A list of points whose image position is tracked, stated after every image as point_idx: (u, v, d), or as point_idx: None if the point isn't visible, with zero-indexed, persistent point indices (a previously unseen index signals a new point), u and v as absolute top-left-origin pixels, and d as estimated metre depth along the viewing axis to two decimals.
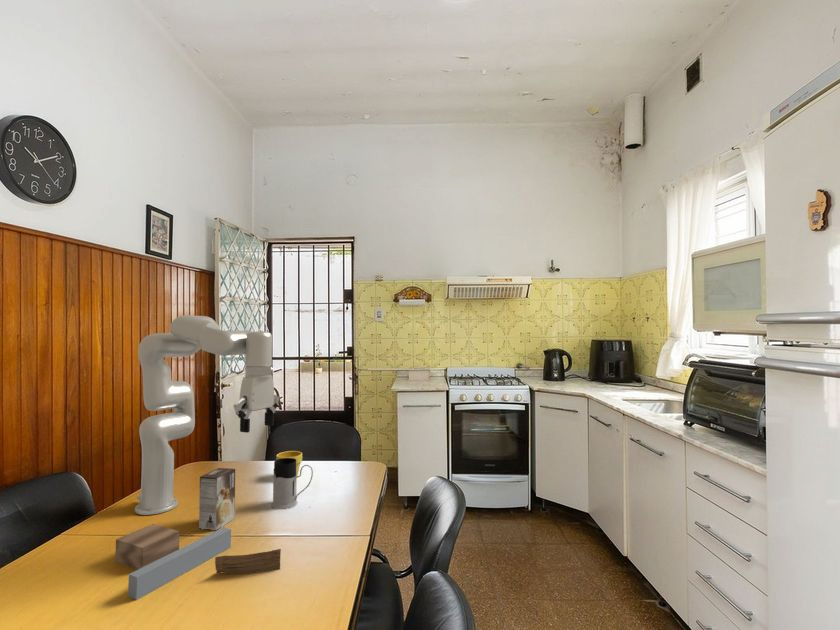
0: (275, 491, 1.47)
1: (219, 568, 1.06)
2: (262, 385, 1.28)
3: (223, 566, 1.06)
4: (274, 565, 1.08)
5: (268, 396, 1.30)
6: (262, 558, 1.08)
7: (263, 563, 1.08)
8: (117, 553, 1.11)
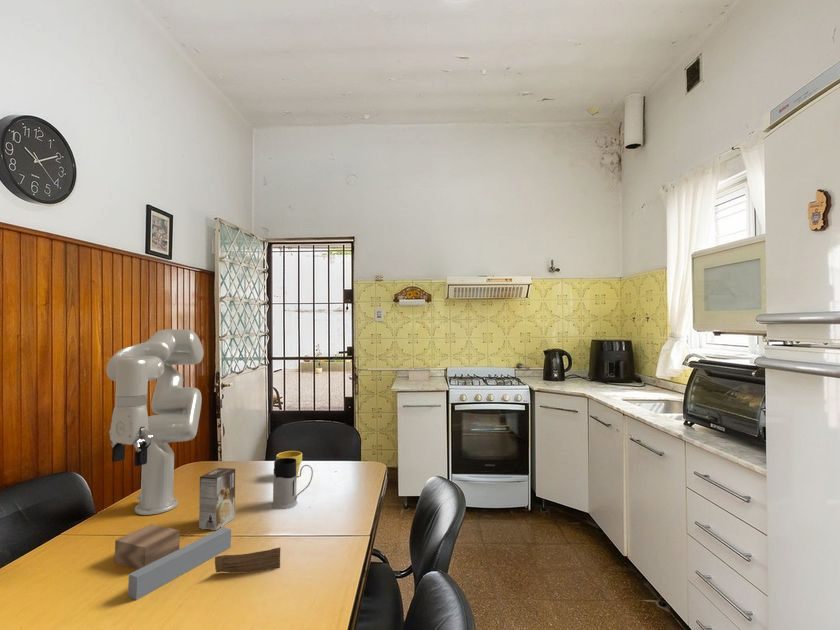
0: (275, 491, 1.47)
1: (219, 567, 1.06)
2: None
3: (223, 566, 1.06)
4: (274, 563, 1.09)
5: None
6: (262, 557, 1.08)
7: (263, 561, 1.08)
8: (117, 554, 1.11)
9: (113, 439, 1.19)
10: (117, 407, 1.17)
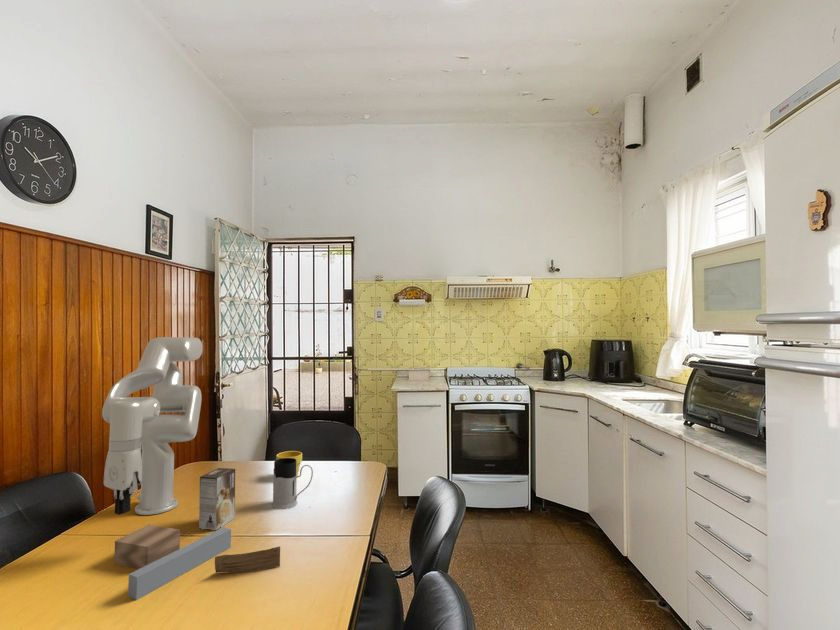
0: (275, 491, 1.47)
1: (218, 568, 1.06)
2: None
3: (223, 566, 1.06)
4: (274, 562, 1.09)
5: None
6: (262, 556, 1.08)
7: (263, 561, 1.09)
8: (116, 555, 1.11)
9: (106, 484, 1.18)
10: (111, 452, 1.16)
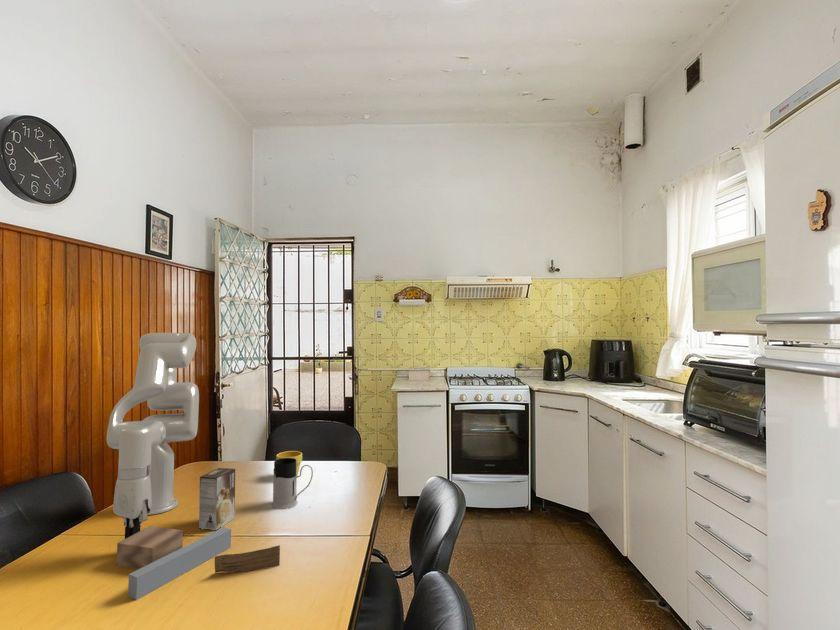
0: (275, 491, 1.47)
1: (218, 567, 1.06)
2: None
3: (222, 565, 1.06)
4: (274, 561, 1.10)
5: None
6: (262, 555, 1.09)
7: (263, 560, 1.09)
8: (119, 557, 1.10)
9: (116, 512, 1.16)
10: (120, 480, 1.14)
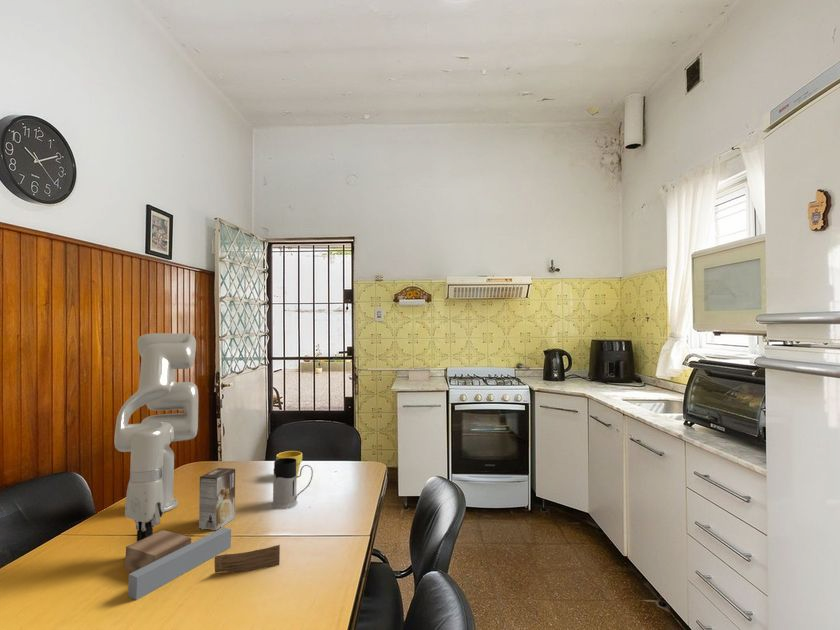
0: (275, 491, 1.47)
1: (218, 567, 1.06)
2: None
3: (222, 565, 1.06)
4: (273, 561, 1.10)
5: None
6: (262, 555, 1.09)
7: (263, 559, 1.09)
8: (127, 561, 1.08)
9: (128, 515, 1.14)
10: (132, 483, 1.12)
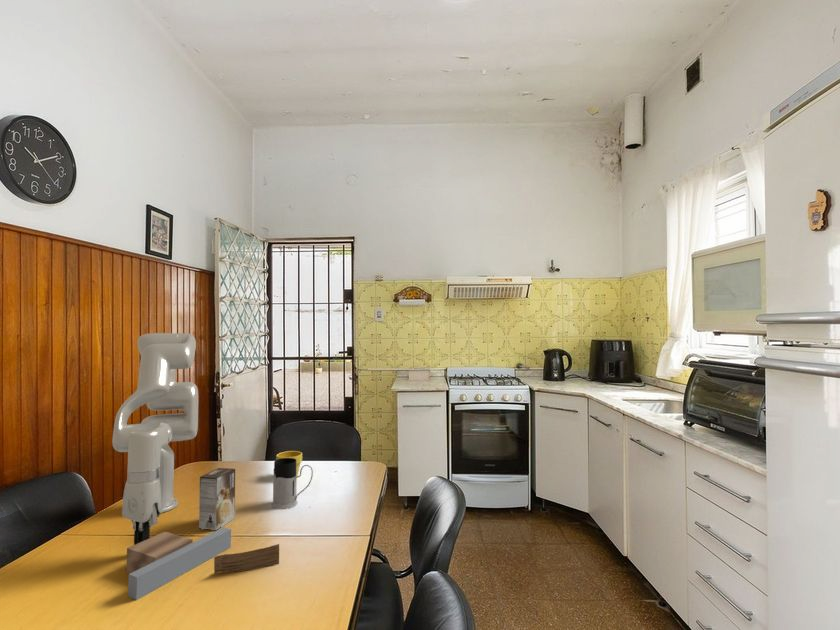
0: (275, 491, 1.47)
1: (218, 567, 1.06)
2: None
3: (222, 565, 1.06)
4: (273, 560, 1.10)
5: None
6: (261, 554, 1.09)
7: (263, 559, 1.10)
8: (128, 562, 1.07)
9: (125, 516, 1.14)
10: (129, 483, 1.13)
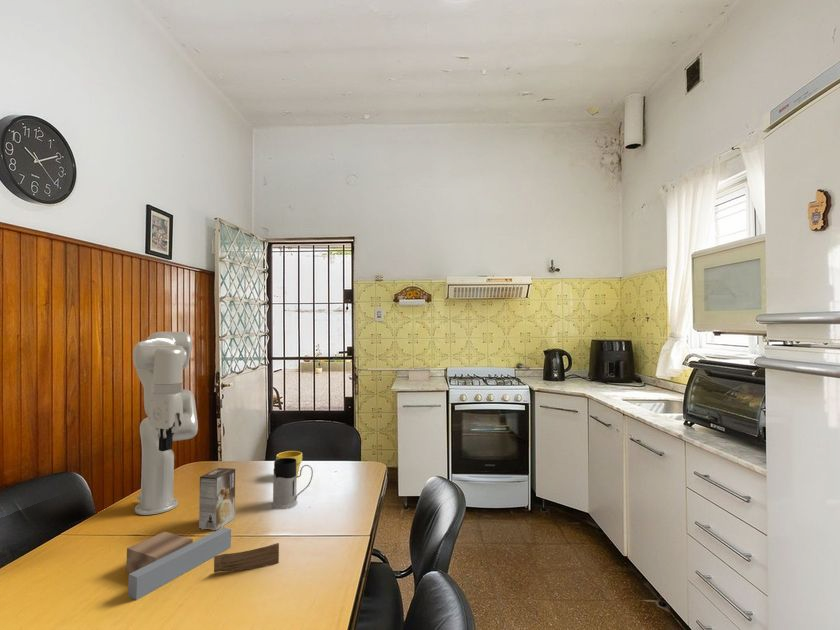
0: (275, 491, 1.47)
1: (217, 567, 1.06)
2: None
3: (222, 565, 1.06)
4: (273, 559, 1.11)
5: None
6: (261, 554, 1.10)
7: (262, 558, 1.10)
8: (128, 563, 1.07)
9: (151, 424, 1.27)
10: (154, 394, 1.25)
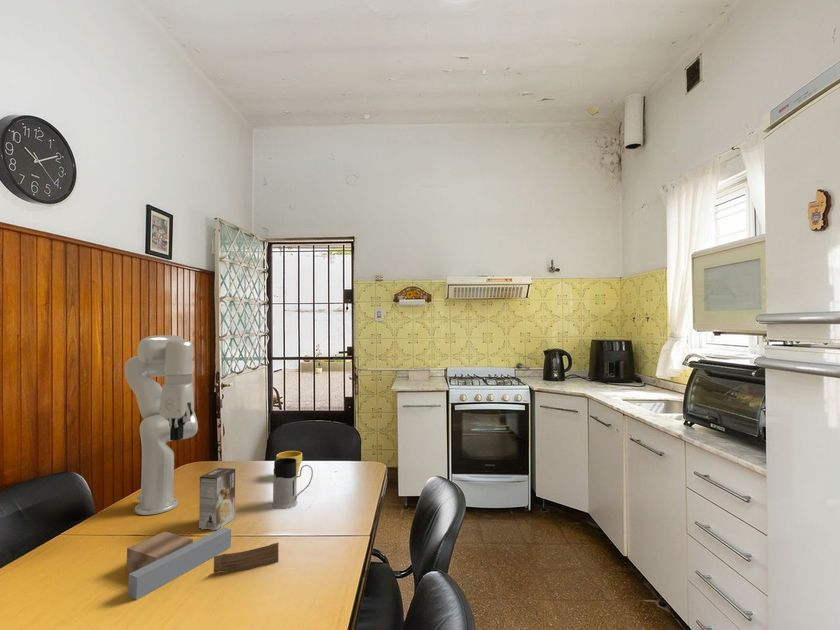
0: (275, 491, 1.47)
1: (217, 567, 1.06)
2: None
3: (222, 565, 1.06)
4: (272, 559, 1.11)
5: None
6: (261, 553, 1.10)
7: (262, 557, 1.10)
8: (128, 562, 1.07)
9: (162, 414, 1.31)
10: (166, 384, 1.29)
